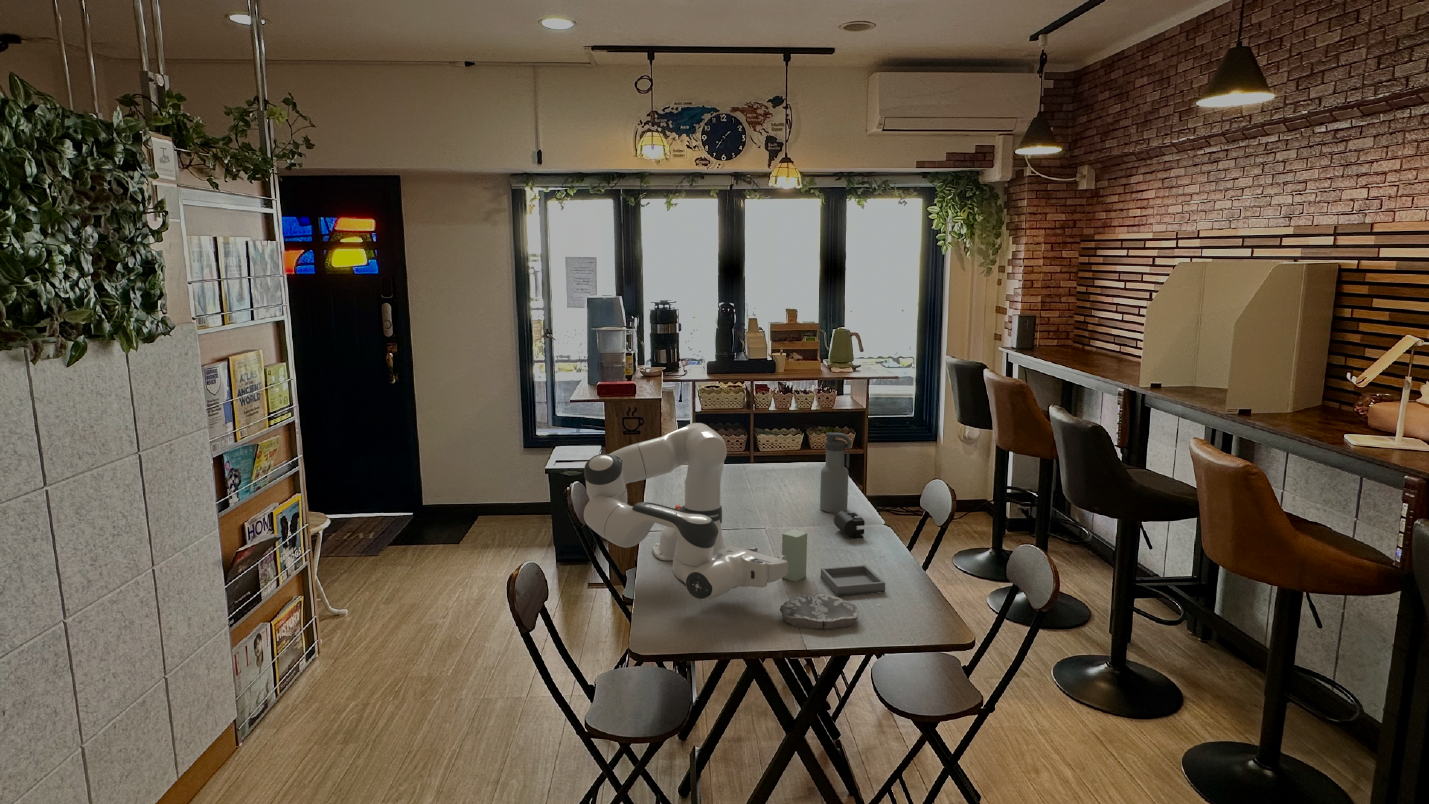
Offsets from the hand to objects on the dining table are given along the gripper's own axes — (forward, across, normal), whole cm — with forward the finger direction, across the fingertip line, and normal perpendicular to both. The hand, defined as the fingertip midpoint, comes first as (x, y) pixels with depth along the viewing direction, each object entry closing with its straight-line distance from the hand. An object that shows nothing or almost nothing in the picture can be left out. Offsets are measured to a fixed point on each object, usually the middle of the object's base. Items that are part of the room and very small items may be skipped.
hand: (769, 554), depth 229 cm
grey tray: (+18, +15, -10) cm, 26 cm away
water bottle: (+75, -27, -10) cm, 81 cm away
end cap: (+55, -8, -11) cm, 57 cm away
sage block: (+12, 0, -10) cm, 16 cm away
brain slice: (-6, +19, -11) cm, 23 cm away
